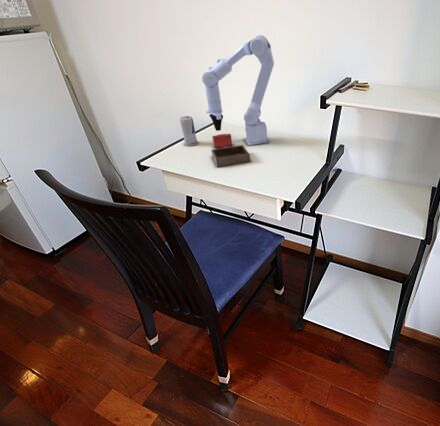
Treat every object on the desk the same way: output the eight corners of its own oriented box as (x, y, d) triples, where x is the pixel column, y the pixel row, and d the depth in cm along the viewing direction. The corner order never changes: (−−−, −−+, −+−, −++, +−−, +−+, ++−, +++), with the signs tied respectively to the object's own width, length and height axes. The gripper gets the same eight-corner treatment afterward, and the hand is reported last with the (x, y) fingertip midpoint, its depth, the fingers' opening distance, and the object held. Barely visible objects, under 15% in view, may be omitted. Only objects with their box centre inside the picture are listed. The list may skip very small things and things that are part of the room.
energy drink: (199, 141, 143) (194, 116, 136) (194, 146, 138) (189, 120, 132) (188, 141, 143) (182, 115, 136) (183, 145, 139) (177, 119, 132)
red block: (230, 142, 143) (229, 132, 140) (232, 146, 139) (231, 135, 136) (213, 145, 140) (211, 134, 137) (215, 149, 136) (213, 138, 133)
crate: (243, 152, 134) (242, 145, 132) (250, 161, 127) (249, 154, 125) (212, 157, 129) (211, 149, 127) (217, 167, 122) (216, 159, 120)
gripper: (201, 97, 138) (206, 126, 146) (207, 105, 127) (212, 136, 135) (217, 95, 141) (221, 124, 148) (224, 104, 130) (228, 134, 138)
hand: (218, 130), depth 142 cm, fingers closed
